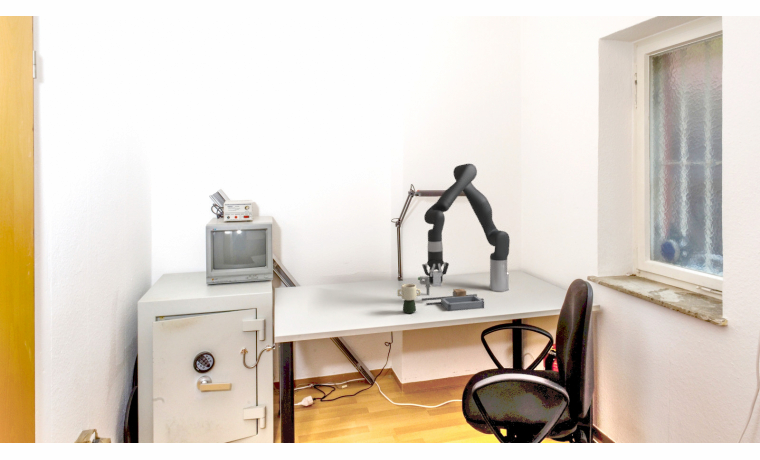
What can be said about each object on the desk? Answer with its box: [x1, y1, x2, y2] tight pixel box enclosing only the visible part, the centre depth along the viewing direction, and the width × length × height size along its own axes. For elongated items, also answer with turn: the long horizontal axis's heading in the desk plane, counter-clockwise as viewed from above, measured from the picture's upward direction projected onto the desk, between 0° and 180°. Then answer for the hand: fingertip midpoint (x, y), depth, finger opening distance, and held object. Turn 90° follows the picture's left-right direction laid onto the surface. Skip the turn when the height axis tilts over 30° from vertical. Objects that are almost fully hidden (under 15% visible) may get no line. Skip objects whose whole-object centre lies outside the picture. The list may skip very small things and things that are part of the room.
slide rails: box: [421, 293, 485, 306], centre depth 217 cm, size 30×10×1 cm, turn 100°
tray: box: [440, 295, 485, 312], centre depth 206 cm, size 18×11×4 cm, turn 100°
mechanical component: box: [417, 275, 432, 296], centre depth 228 cm, size 3×10×10 cm, turn 78°
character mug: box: [397, 283, 422, 314], centre depth 199 cm, size 11×7×13 cm, turn 92°
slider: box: [452, 288, 467, 297], centre depth 217 cm, size 6×5×5 cm
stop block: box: [430, 270, 442, 288], centre depth 213 cm, size 4×4×7 cm
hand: (435, 282), depth 214 cm, fingers closed on stop block, 4 cm apart
